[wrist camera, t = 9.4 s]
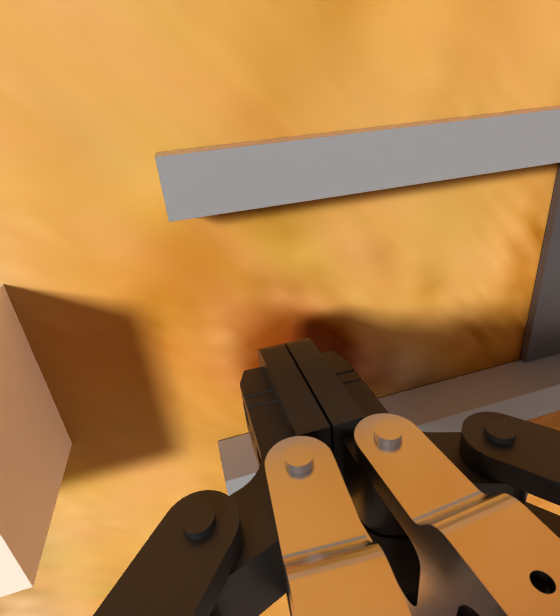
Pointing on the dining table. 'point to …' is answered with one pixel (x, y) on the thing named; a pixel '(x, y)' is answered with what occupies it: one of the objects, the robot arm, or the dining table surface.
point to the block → (25, 455)
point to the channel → (383, 175)
